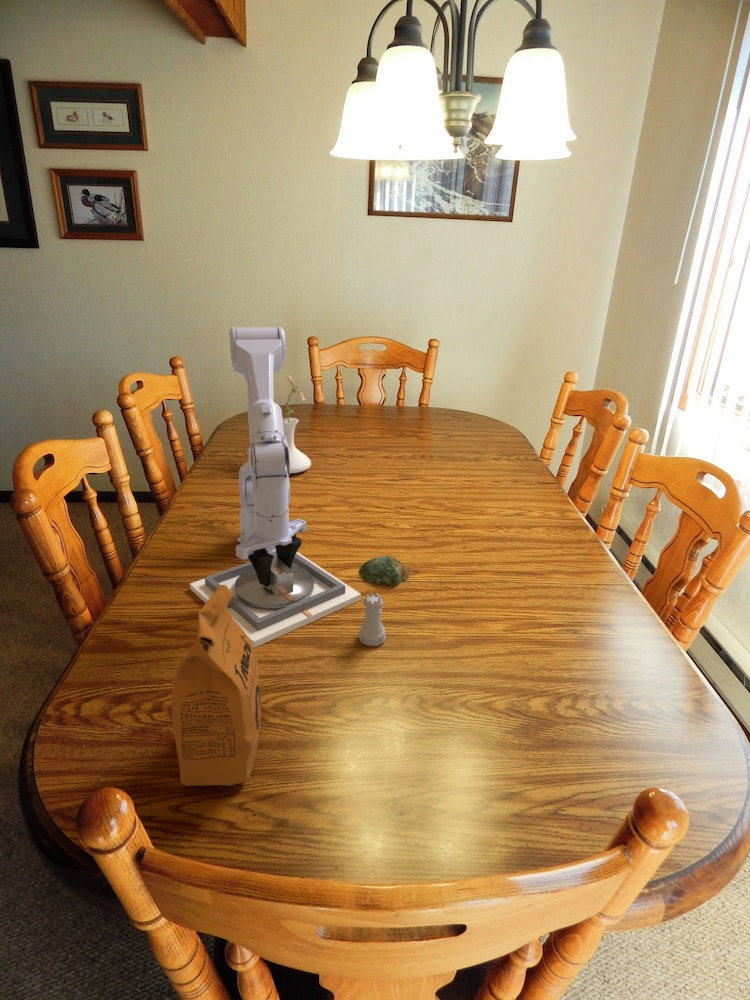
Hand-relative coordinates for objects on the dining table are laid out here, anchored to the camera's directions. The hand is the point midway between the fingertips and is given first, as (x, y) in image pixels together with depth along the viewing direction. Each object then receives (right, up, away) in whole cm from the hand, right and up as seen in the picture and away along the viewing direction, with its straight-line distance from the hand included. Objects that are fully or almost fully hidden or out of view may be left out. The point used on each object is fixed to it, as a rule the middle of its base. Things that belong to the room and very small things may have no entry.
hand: (274, 579), depth 111 cm
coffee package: (-1, -18, -32) cm, 37 cm away
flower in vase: (-5, +23, +59) cm, 64 cm away
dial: (0, -2, +1) cm, 2 cm away
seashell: (+20, -1, +10) cm, 22 cm away
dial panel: (0, -3, +1) cm, 3 cm away
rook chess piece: (+17, -9, -10) cm, 22 cm away
